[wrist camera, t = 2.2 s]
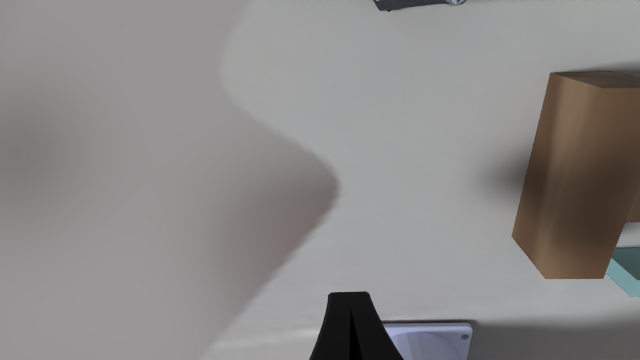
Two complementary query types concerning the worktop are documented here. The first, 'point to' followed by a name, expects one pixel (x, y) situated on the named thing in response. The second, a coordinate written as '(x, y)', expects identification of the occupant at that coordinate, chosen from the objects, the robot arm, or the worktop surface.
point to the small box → (412, 3)
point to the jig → (626, 270)
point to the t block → (581, 174)
